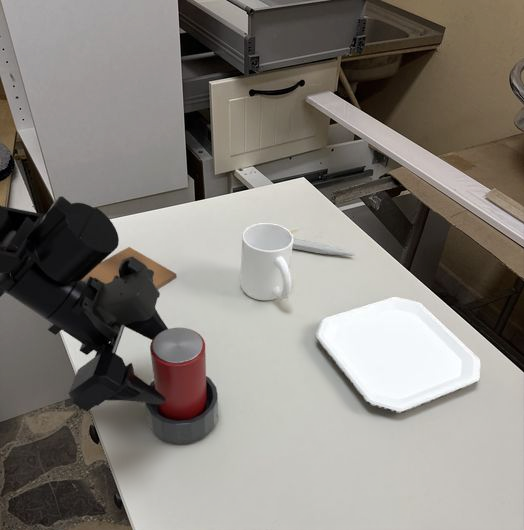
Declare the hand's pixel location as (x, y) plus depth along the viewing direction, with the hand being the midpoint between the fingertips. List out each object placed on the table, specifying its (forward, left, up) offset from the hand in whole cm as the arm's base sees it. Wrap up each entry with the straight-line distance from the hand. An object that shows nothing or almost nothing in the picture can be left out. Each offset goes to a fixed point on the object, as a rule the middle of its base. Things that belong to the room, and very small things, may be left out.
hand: (169, 372), depth 65 cm
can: (+1, 0, -8) cm, 8 cm away
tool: (+27, +37, -9) cm, 47 cm away
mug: (+17, +25, -9) cm, 31 cm away
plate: (+34, +8, -9) cm, 36 cm away
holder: (+1, 0, -9) cm, 9 cm away
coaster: (-7, +31, -9) cm, 33 cm away
